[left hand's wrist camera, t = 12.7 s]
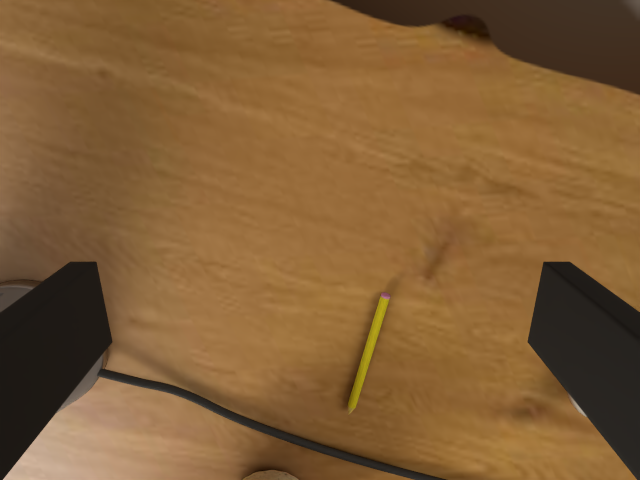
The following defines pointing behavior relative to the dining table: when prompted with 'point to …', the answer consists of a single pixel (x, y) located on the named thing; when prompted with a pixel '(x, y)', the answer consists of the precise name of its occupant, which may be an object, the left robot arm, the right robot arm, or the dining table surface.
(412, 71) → the dining table surface
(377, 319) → the pencil
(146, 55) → the dining table surface
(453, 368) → the dining table surface
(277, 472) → the bowl
